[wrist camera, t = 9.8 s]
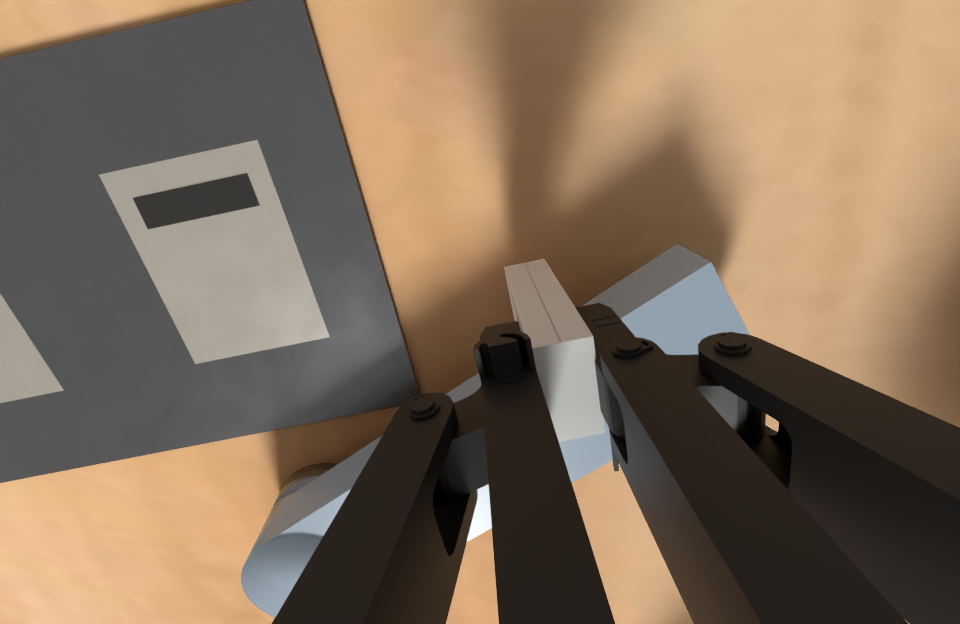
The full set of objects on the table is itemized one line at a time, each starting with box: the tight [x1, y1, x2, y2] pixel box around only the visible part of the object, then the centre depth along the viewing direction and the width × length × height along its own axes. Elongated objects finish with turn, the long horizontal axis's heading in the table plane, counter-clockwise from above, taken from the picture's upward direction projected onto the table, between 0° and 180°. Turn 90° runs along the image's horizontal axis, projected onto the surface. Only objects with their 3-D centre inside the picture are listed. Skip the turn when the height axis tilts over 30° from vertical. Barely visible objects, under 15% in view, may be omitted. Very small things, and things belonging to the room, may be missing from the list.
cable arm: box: [241, 244, 750, 617], centre depth 18 cm, size 5×22×3 cm, turn 126°
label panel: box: [0, 0, 421, 483], centre depth 18 cm, size 24×16×1 cm, turn 101°
